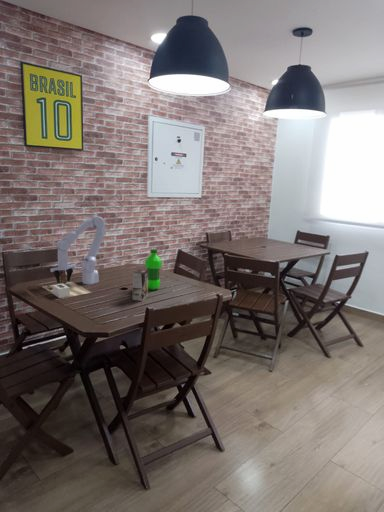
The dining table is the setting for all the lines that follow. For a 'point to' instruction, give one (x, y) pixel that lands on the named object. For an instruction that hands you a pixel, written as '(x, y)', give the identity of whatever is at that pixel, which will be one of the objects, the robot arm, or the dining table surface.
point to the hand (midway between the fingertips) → (63, 281)
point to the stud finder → (61, 290)
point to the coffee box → (140, 284)
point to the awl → (63, 278)
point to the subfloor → (71, 289)
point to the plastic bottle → (153, 269)
